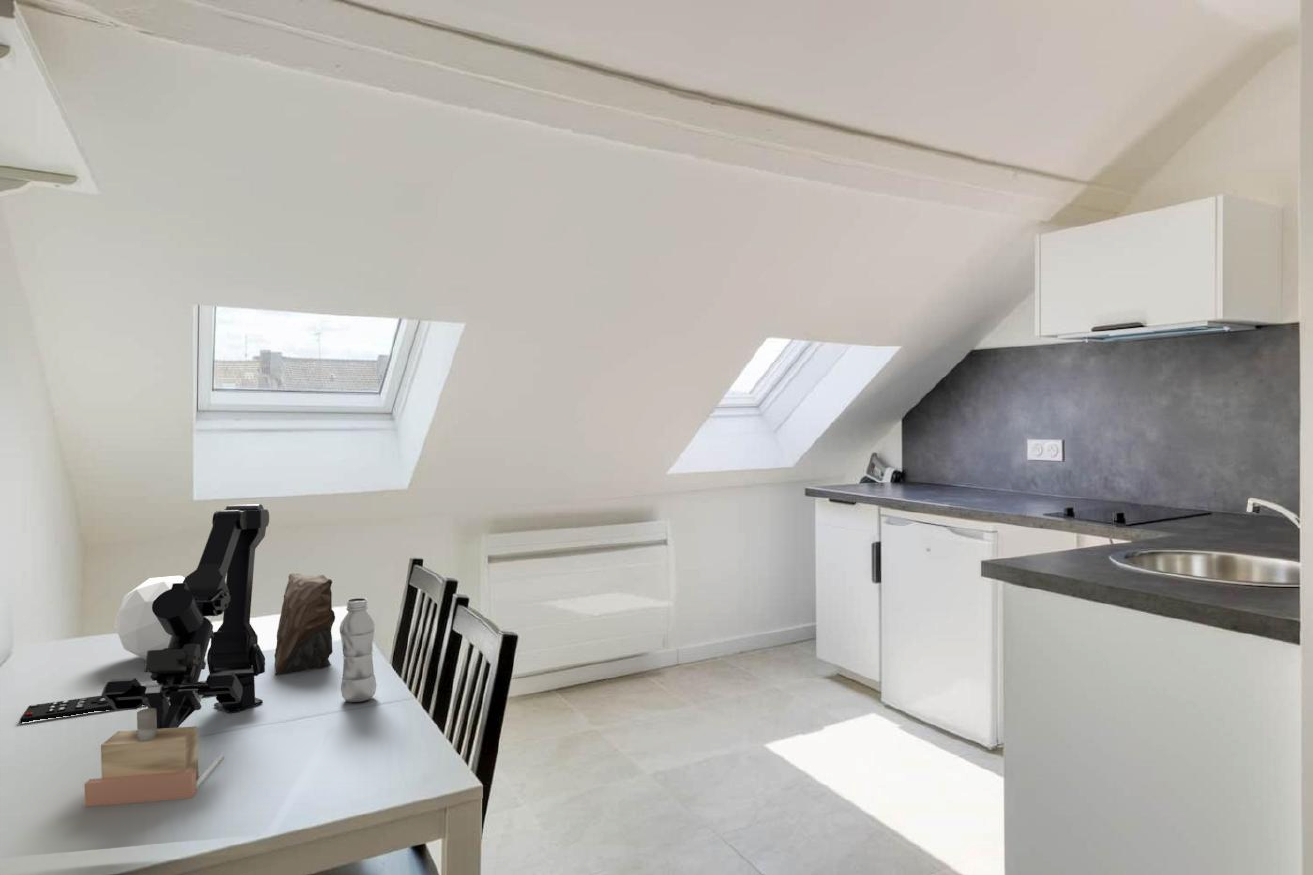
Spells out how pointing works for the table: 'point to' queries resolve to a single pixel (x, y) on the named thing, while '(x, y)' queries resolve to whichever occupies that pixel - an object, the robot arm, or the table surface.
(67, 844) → the table surface
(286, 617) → the brown rock
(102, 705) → the remote control
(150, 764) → the plate
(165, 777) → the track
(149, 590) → the ball
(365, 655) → the plastic bottle
